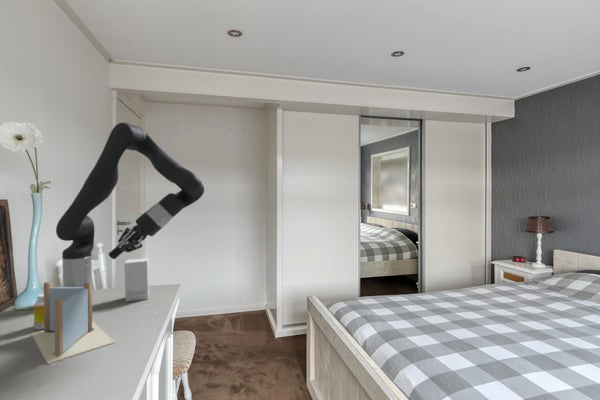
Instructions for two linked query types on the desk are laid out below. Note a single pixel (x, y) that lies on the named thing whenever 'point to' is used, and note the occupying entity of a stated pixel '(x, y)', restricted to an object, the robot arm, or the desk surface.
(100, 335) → the card
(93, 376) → the desk surface
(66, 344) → the fence panel
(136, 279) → the skincare box
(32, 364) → the desk surface
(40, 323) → the supplement bottle
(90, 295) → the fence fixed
